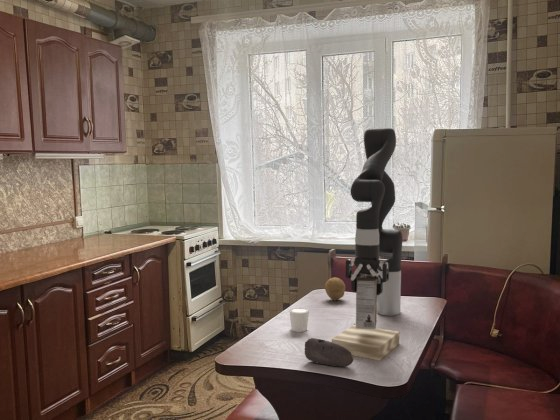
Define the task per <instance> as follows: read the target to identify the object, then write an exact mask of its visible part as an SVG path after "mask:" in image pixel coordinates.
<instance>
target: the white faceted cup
mask: <svg viewBox="0 0 560 420" xmlns="http://www.w3.org/2000/svg"><path fill="white" fill-rule="evenodd" d="M309 311H310V310H309V309H307V308H302V307H301V308H300V307H297V308H296V307H295V308H291V309H290V310H289V319H290V329H291V331H293V332H296V333H302V332H306V331H307V330H308V324H309V322H308V321H309V313H310V312H309Z"/></svg>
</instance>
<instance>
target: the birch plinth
mask: <svg viewBox="0 0 560 420" xmlns="http://www.w3.org/2000/svg"><path fill="white" fill-rule="evenodd" d="M331 342H333V343H336V344H338V345H341V346H343V347H345V348H346V349H348V350H349V351H350V352H351V354H352V356H355V357H360V358H364V359H371V360H375V361H381V360H382V359H384V357H385V356H386V355H388V354H389V353H390V352H391V351H392V350H393V349H395V348H396V347H397V346H399V344H400V331H396V330H392V329H391V330H390V329H385V328H378V327H376V329H357V328H356V324H353V325H352V326H351V325H350V327H348V328H347V329H345V330H343V331H342V332H340V333H339V334H337V335H336V336H334V337H332V338H331Z"/></svg>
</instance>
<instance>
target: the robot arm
mask: <svg viewBox="0 0 560 420" xmlns="http://www.w3.org/2000/svg"><path fill="white" fill-rule="evenodd" d="M363 144H364V145H363V146H364V151H365V158H366V160H365V162H364V164H363V167H362V170H361V172H360V173H359V175H357V176H356V177H355V179H354V180H353V182H352V184H351V186H350V190H349V191H350V192H349V193H350V195H351V198H352V200H353V201H354V202H359V203H371V204H370V205H371V206H370V207H368V208H363V209H359V210H357V211H356V215H355V216H356V217H355V220H356V221H355V224H356V227H355V238H354V242H355V243H354V244H355V245H354V246H355V249H354V250H355V251H354V252H355V253H354V255H355V257H354V258H355V259H351V258H348V259H346V261H345V278H346V279H349V280H350V283H351V286H350V287H351V288H350V289H351V290H352V292H353V293H356V279H357V276H358V275H360V274H368V275H371V274H372V276H373V277H374V278H376V279H377V315H383V316H398V315H400V314H401V305H402V304H401V301H402V300H401V298H402V295H401V291H402V253H403V252H402V249H403V234H402V231H401V230H400V229H387V228H386V229H385V228H383V223H384V221H385V220H386V217H387V216H388V214H389V213H390V211H391V210H392V209H393V207H394V205H395V202H396V189H395V187H396V186H395V184H394V181H393V179H392V178H391V177H390V175H389V174H388V173H387V172H386V167H387V165H388V163H389V162H390V159H391V158H392V156H393V154H394V152H395V149H396V148H397V147H396V146H397V136H396V130H395V129H394V128H392V127H378V128H377V127H376V128H375V127H373V128H371V127H370V128H367V129H366V130H365V131H364V134H363ZM380 253H382V254H383V253H385V254H392V256H391V257H389V258H387V259H384V260H383V259H382V260H381V261H380ZM353 266H355V267H356V269H355V270H354V272H353Z"/></svg>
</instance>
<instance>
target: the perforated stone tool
mask: <svg viewBox="0 0 560 420" xmlns="http://www.w3.org/2000/svg"><path fill="white" fill-rule="evenodd" d="M304 356H305V358H306V359H307V360H308V361H311V362H314V363H316V364H321V365H326V366H333V367H342V368H343V367H344V368H345V367H350V365H352V364H353V362H354V357H353V355H352V354H351V352H350V351H349V350H348V349H346V348H345V347H343V346H341V345H338V344H336V343H333V342H332V341H329V340H325V339H320V338H315V337H311V338H308V339H307V340H306V341H305V342H304Z"/></svg>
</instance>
